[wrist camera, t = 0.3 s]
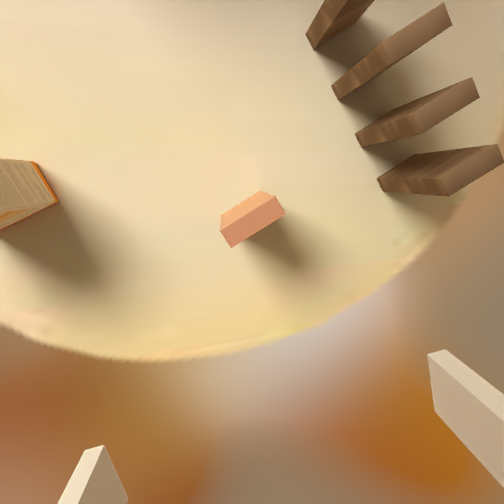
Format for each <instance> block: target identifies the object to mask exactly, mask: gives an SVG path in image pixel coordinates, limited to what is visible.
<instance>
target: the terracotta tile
mask: <svg viewBox="0 0 504 504" xmlns="http://www.w3.org/2000/svg"><path fill="white" fill-rule="evenodd" d="M285 214H286V213H285V212H284V210H283V208H282V207H281V205H280V203H279V201H278V200H277V198H276V196H273V195H271V194H268V193H265V192H262V191H259V192H257V193H256V194H254V195H252V196H251V197H249V198H248V199H246V200H244V201H243V202H241V203H240V204H238V205H237V206H235V207H233V208H232V209H230V210H229V211H227V212H225V213H224V214H222V215H221V225H220V232H221V233H222V235H223V236H224V238H225V239H226V241H227V242H228V244H229V245H230V247H231V248H232V247H234V246H235V245H237V244H238V243H240V242H242V241H243V240H245V239H246V238H248V237H250V236H251V235H253V234H255V233H256V232H258V231H259V230H261V229H263V228H264V227H266V226H267V225H269V224H271V223H272V222H274V221H275V220H277V219H279V218H280V217H282V216H284V215H285Z"/></svg>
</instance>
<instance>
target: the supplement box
mask: <svg viewBox="0 0 504 504" xmlns="http://www.w3.org/2000/svg"><path fill="white" fill-rule="evenodd" d="M57 202H58V200H57V198H56V196H55V195H54V193H53V192H52V190H51V188H50V187H49V185H48V183H47V182H46V180H45V179H44V177H43V175H42V174H41V172H40V170H39V169H38V167H37V165H36V164H35V162H33V161H23V160H11V159H0V230H1V229H3V228H5V227H7V226H9V225H11V224H14V223H16V222H18V221H20V220H22V219H24V218H26V217H28V216H30V215H32V214H34V213H36V212H38V211H40V210H42V209H44V208H47V207H49V206H51V205H53V204H55V203H57Z"/></svg>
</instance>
